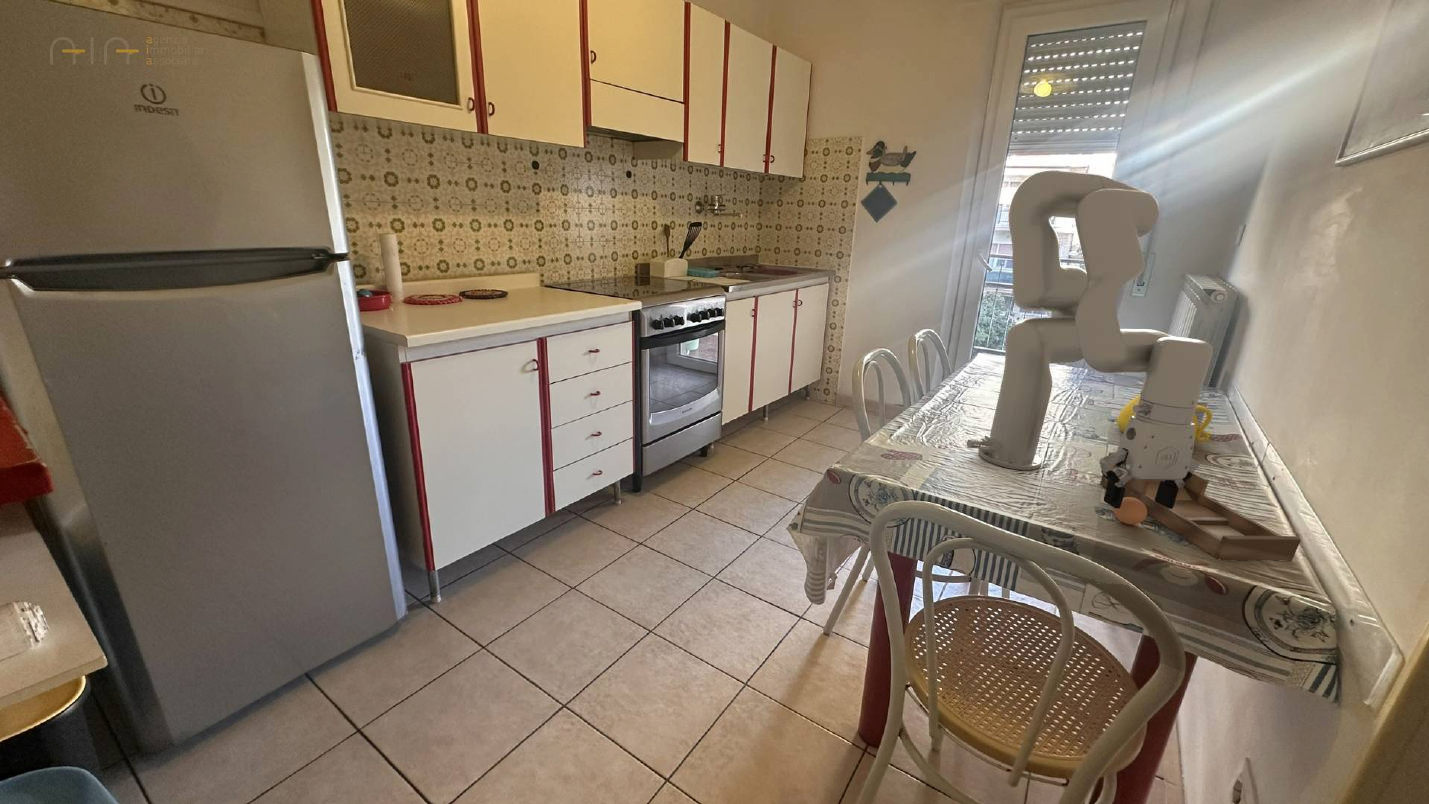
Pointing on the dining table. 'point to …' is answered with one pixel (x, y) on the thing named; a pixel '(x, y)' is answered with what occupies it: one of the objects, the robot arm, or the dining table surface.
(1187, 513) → the lane
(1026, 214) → the robot arm
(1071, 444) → the dining table surface
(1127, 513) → the ball
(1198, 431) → the teapot
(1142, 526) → the dining table surface
